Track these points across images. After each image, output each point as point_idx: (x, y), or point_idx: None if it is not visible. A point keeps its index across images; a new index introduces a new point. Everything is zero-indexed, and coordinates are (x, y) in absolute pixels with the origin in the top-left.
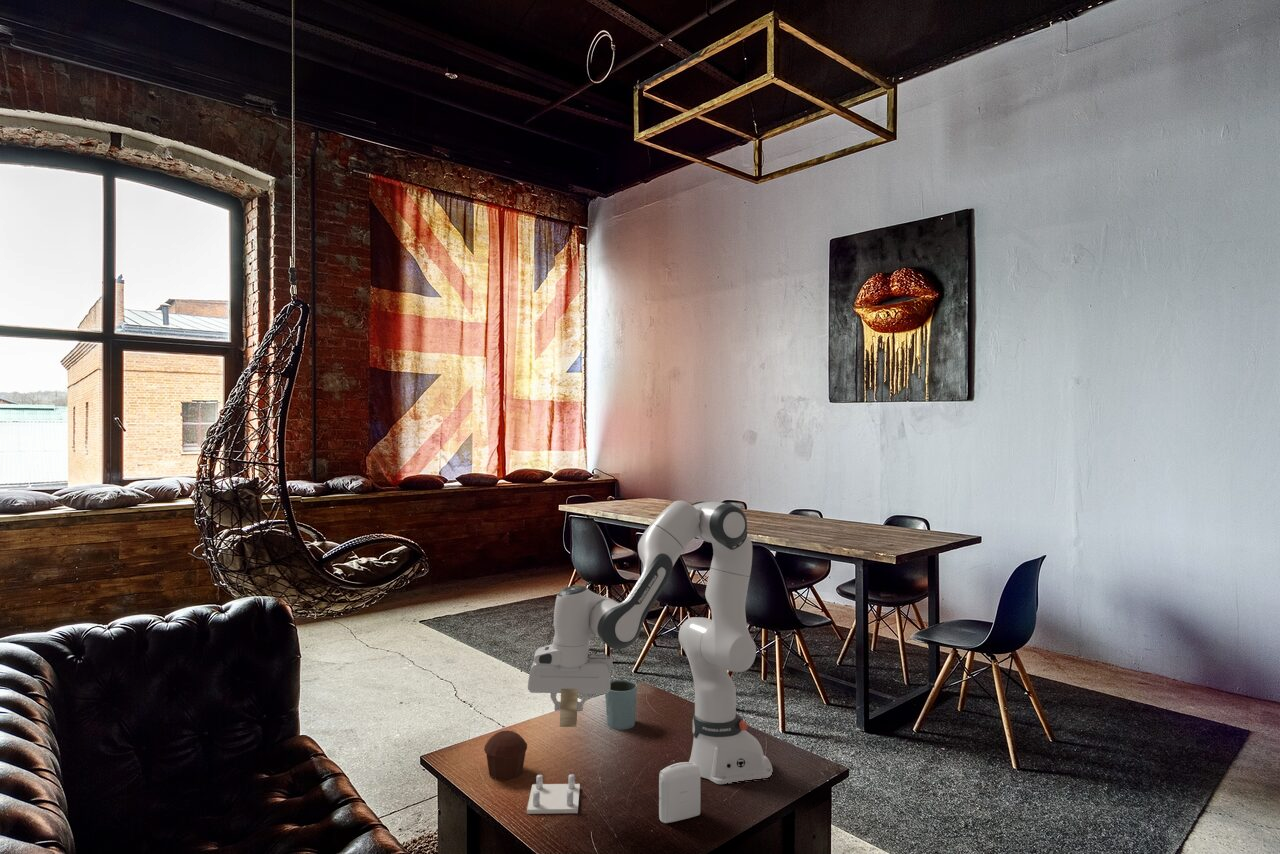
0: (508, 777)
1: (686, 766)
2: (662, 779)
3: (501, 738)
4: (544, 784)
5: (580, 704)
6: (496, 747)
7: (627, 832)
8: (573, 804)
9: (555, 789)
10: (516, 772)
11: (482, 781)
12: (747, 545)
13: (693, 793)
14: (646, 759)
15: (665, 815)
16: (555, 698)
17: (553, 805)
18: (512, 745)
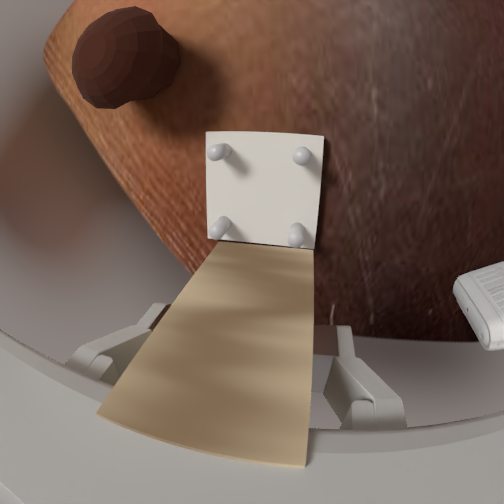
0: (153, 94)
1: None
2: (482, 342)
3: (85, 76)
4: (234, 132)
5: (324, 391)
6: (87, 96)
7: (392, 313)
8: (305, 230)
9: (262, 159)
10: (165, 84)
11: (112, 109)
12: None
13: None
14: (473, 42)
15: (460, 307)
16: (128, 362)
17: (261, 228)
18: (116, 85)
